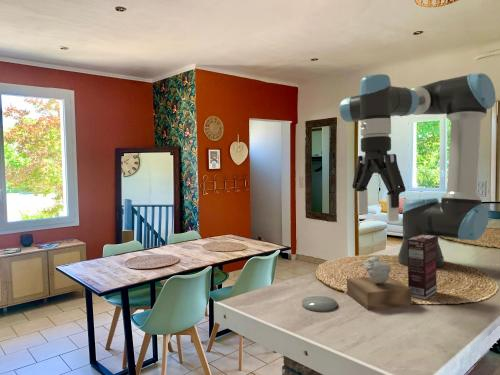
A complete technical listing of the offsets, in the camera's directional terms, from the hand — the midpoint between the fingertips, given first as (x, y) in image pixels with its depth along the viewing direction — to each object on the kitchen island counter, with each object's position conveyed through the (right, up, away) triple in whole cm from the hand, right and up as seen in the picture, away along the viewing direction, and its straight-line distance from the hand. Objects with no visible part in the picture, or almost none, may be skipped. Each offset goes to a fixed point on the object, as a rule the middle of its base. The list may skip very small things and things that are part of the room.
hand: (376, 217), depth 100 cm
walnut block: (+1, -23, +2) cm, 23 cm away
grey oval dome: (-15, -23, -1) cm, 28 cm away
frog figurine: (+1, -18, +1) cm, 18 cm away
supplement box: (+14, -22, +5) cm, 26 cm away
